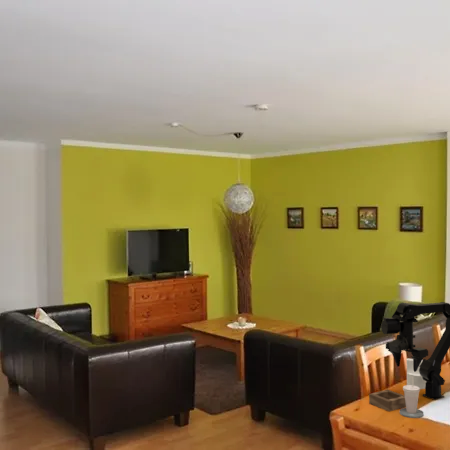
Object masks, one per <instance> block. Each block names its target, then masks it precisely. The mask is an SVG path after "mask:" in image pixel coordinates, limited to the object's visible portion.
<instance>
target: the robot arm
mask: <svg viewBox="0 0 450 450" xmlns="http://www.w3.org/2000/svg"><path fill="white" fill-rule="evenodd" d="M437 313H442V316H444V317H445V319H446V320H445V330H444V332H443V333H442V335H441V337H440V338H439V340H438V342H437V344H436V346H435V347H434V350H433V352H432V354H431V355H430V356H429V350H428V349H427V348H424V347H416V344H414V339H415V338H416V334H415V335H414V323H418V322H419V321H418V319H416V317H418V316H420V315H423V314H425V315H426V314H437ZM380 328H381V332H382V334H384V335H393V334H397V335H396V339H394V340H391V341H388V342H386V343H385V349H386V350H387V352H390V354H392V357H393V359H394V362H395V364H396V367H400V365H401V360H402V359H401V358H402V352H403V351H404V352H408V353H411V355H412V356H410V357H411V359H413V369H414V372H416V371H417V369H418V367H420V369H419V372H420V375H421V376H422V378H423V380H425V381H426V386H425V389H424V390H425V391H424V392H425V393H423V394H422V396H423V397H426V398H429V399H432V400H435V401H436V400H438V399H439V400H440V399H443V398H445V395H442V386H444V385H445V383H446V380H445V379H444V377H443V376H441V373H442V362H443V360H444V359H445V357H446V355H447V353H448V351H449V350H450V303H449V302H446V301H441V302H433V303H432V302H431V303H420V304H416V303H409V302H400V303H398V305H397V306H396V310H395V311H394V313H393V314H392V315H391V317H383V320H382V322H381V324H380ZM428 356H429V358H428V359H425V358H426V357H428ZM422 360H423V361H422ZM421 361H422V364H421V365H420V363H421ZM419 365H420V366H419Z"/></svg>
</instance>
